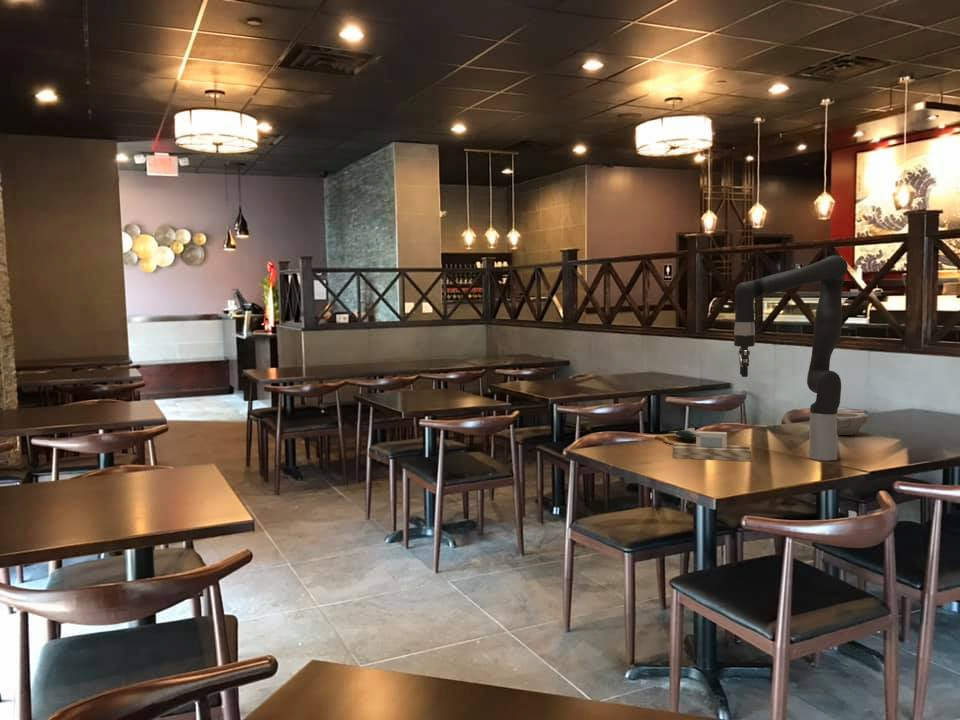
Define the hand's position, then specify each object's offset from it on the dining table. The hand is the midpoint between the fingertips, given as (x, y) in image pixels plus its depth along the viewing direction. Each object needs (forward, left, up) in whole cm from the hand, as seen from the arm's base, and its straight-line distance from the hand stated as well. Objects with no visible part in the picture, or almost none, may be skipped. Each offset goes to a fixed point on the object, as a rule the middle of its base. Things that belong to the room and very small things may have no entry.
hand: (743, 375), depth 290 cm
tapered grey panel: (+12, +12, -29) cm, 33 cm away
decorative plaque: (+20, -15, -31) cm, 40 cm away
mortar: (-45, -51, -30) cm, 75 cm away
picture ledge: (+12, +12, -30) cm, 35 cm away
